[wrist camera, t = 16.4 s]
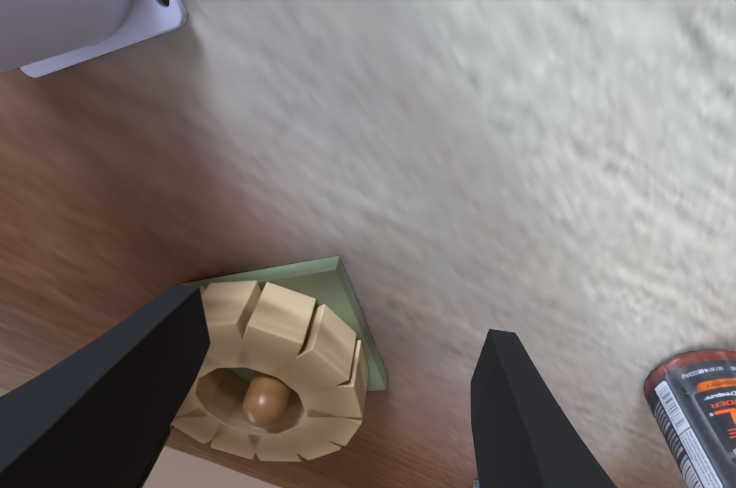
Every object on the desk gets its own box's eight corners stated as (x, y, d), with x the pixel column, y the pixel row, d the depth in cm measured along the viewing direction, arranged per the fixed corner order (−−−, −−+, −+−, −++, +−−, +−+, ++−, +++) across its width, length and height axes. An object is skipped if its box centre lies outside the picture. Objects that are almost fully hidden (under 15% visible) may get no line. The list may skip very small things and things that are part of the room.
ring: (145, 263, 22) (110, 304, 20) (380, 298, 22) (374, 344, 20) (182, 401, 30) (160, 445, 27) (359, 429, 30) (353, 476, 27)
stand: (180, 283, 25) (117, 371, 20) (339, 254, 22) (315, 346, 17) (252, 387, 30) (218, 478, 25) (387, 374, 28) (379, 471, 22)
